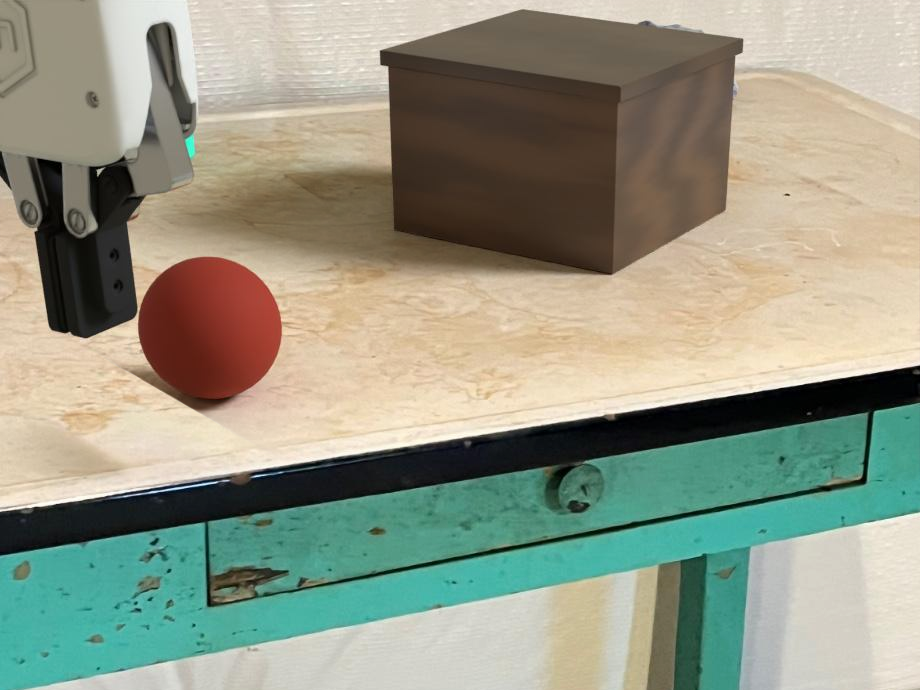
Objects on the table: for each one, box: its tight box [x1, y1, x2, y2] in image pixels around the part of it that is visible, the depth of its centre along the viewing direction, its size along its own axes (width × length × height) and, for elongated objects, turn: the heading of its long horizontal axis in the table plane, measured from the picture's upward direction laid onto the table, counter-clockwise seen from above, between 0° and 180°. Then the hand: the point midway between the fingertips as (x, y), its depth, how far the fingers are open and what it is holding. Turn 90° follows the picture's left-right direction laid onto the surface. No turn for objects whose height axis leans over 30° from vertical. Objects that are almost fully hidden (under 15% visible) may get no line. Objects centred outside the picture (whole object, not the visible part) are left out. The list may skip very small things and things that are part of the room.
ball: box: [137, 256, 283, 400], centre depth 72 cm, size 6×6×6 cm
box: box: [379, 8, 744, 275], centre depth 95 cm, size 15×15×10 cm
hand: (94, 323), depth 66 cm, fingers closed
